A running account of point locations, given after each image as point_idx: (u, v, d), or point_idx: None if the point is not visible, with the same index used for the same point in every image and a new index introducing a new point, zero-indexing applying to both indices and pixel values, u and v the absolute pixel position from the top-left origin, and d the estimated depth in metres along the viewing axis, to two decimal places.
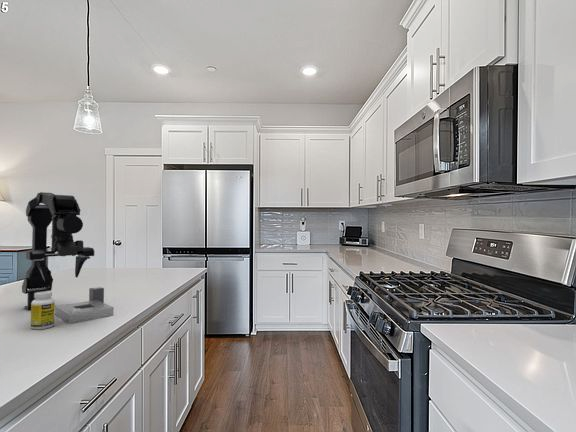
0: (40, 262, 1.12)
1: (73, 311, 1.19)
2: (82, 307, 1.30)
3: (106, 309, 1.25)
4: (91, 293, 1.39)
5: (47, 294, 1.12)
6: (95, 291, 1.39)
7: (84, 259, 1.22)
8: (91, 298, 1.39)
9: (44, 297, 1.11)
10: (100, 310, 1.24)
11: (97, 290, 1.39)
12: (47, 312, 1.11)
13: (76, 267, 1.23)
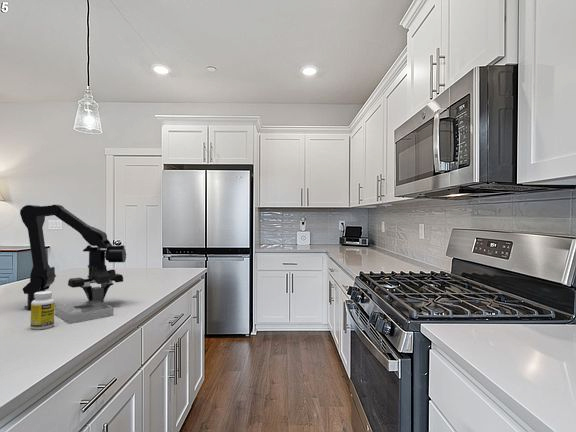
0: (87, 288, 1.36)
1: (73, 311, 1.19)
2: (82, 307, 1.30)
3: (106, 309, 1.25)
4: (91, 293, 1.39)
5: (47, 294, 1.12)
6: (95, 291, 1.39)
7: (109, 285, 1.42)
8: None
9: (44, 297, 1.11)
10: (100, 310, 1.24)
11: (97, 290, 1.39)
12: (47, 312, 1.11)
13: None
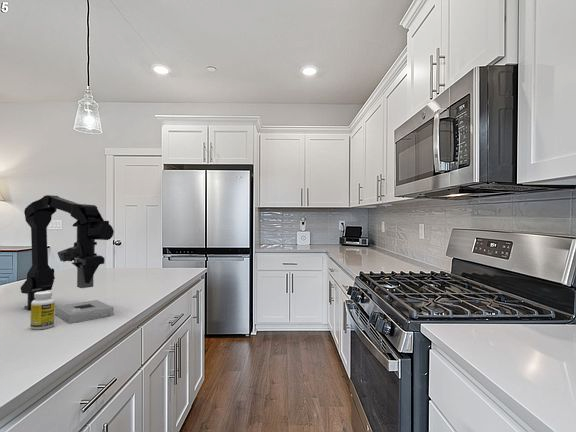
0: (73, 264, 1.29)
1: (73, 311, 1.19)
2: (82, 307, 1.30)
3: (106, 309, 1.25)
4: None
5: (47, 294, 1.12)
6: (78, 269, 1.27)
7: (81, 266, 1.24)
8: None
9: (44, 297, 1.11)
10: (100, 310, 1.24)
11: (78, 269, 1.27)
12: (47, 312, 1.11)
13: None
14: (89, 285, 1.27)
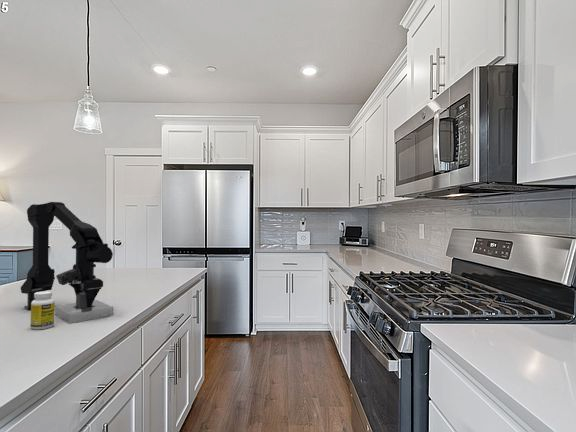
0: (70, 285, 1.30)
1: (73, 311, 1.19)
2: None
3: (106, 309, 1.25)
4: None
5: (47, 294, 1.12)
6: (76, 296, 1.27)
7: (83, 291, 1.21)
8: None
9: (44, 297, 1.11)
10: (100, 310, 1.24)
11: (77, 295, 1.26)
12: (47, 312, 1.11)
13: None
14: None
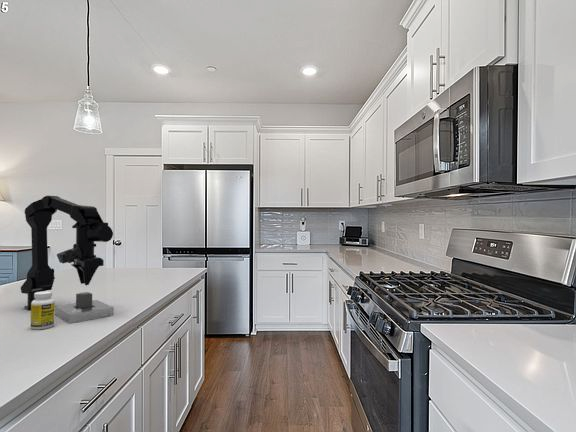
0: (73, 266, 1.28)
1: (73, 311, 1.19)
2: None
3: (106, 309, 1.25)
4: None
5: (47, 294, 1.12)
6: (76, 296, 1.27)
7: (80, 268, 1.23)
8: None
9: (44, 297, 1.11)
10: (100, 310, 1.24)
11: (77, 295, 1.26)
12: (47, 312, 1.11)
13: None
14: None
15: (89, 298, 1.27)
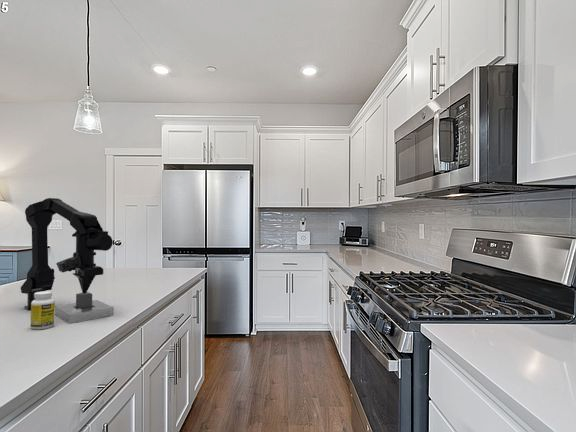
0: None
1: (73, 311, 1.19)
2: None
3: (106, 309, 1.25)
4: None
5: (47, 294, 1.12)
6: (76, 296, 1.27)
7: (78, 276, 1.24)
8: None
9: (44, 297, 1.11)
10: (100, 310, 1.24)
11: (77, 295, 1.26)
12: (47, 312, 1.11)
13: None
14: None
15: (89, 298, 1.27)
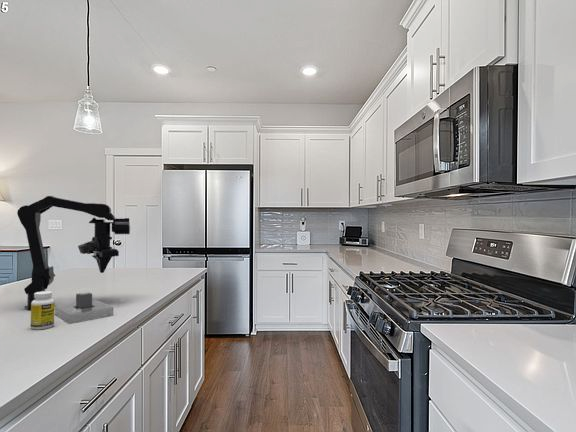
0: None
1: (73, 311, 1.19)
2: None
3: (106, 309, 1.25)
4: None
5: (47, 294, 1.12)
6: (76, 296, 1.27)
7: (97, 258, 1.42)
8: None
9: (44, 297, 1.11)
10: (100, 310, 1.24)
11: (77, 295, 1.26)
12: (47, 312, 1.11)
13: None
14: None
15: (89, 298, 1.27)
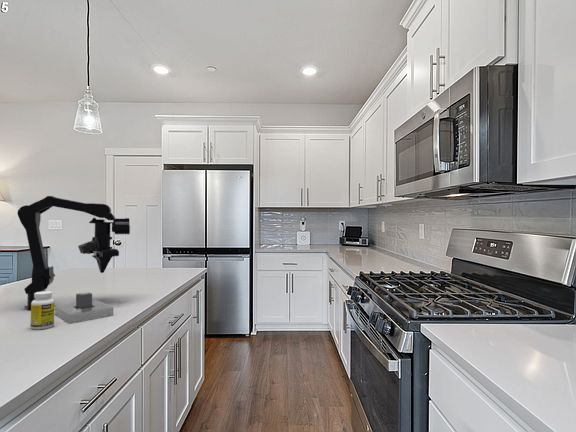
0: None
1: (73, 311, 1.19)
2: None
3: (106, 309, 1.25)
4: None
5: (47, 294, 1.12)
6: (76, 296, 1.27)
7: (97, 258, 1.42)
8: None
9: (44, 297, 1.11)
10: (100, 310, 1.24)
11: (77, 295, 1.26)
12: (47, 312, 1.11)
13: None
14: None
15: (89, 298, 1.27)
